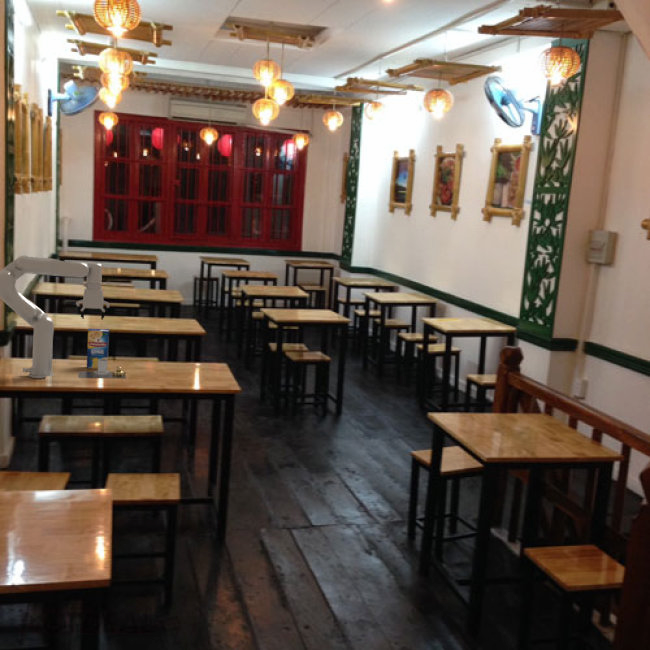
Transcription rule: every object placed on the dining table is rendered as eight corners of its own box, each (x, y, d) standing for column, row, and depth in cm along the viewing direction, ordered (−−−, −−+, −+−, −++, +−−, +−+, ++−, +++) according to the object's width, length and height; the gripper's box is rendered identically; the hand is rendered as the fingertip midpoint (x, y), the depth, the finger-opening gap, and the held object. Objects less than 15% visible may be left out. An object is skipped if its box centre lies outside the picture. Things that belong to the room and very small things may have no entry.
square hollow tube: (94, 376, 403) (94, 361, 402) (93, 373, 410) (94, 358, 409) (110, 376, 405) (110, 361, 404) (109, 373, 413) (110, 358, 412)
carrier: (78, 380, 397) (78, 369, 396) (78, 373, 412) (78, 363, 411) (126, 380, 404) (126, 370, 404) (124, 374, 419) (125, 364, 419)
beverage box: (107, 370, 425) (109, 331, 423) (86, 370, 423) (88, 330, 420) (107, 368, 432) (109, 329, 429) (87, 367, 429) (88, 328, 426)
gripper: (76, 286, 398) (75, 319, 400) (111, 288, 403) (109, 320, 405) (76, 285, 405) (75, 317, 407) (110, 286, 410) (109, 318, 412)
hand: (92, 318), depth 406 cm, fingers open, 9 cm apart
